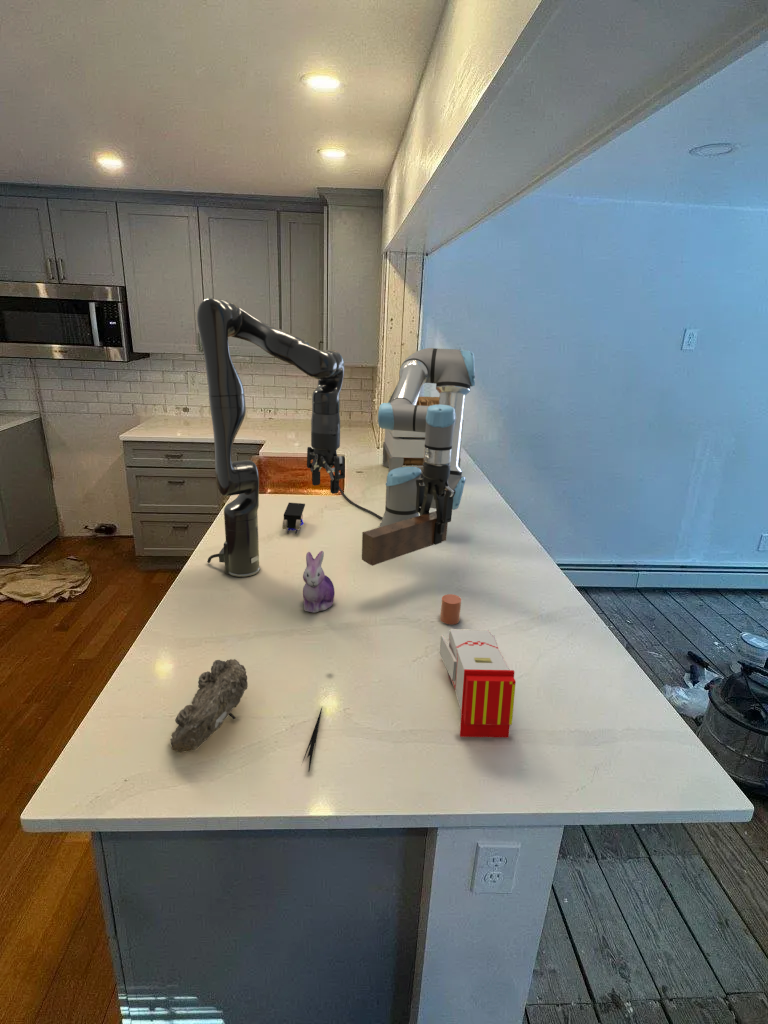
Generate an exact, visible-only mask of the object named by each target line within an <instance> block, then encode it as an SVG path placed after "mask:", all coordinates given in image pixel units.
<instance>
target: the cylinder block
mask: <svg viewBox="0 0 768 1024" xmlns="http://www.w3.org/2000/svg"><path fill="white" fill-rule="evenodd" d="M440 603H441V604H440V612H439V613H440V614H439V620H440V622H441V623H443V624H446V625H451V626H452V625H457V624H459V622H460V620H461V619H460V618H461V610H462V609H461V608H462V598H461V596H459V595H457V594H453V593H450V594H449V593H448V594H444V595H442V597H441V602H440Z"/></svg>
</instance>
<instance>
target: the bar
mask: <svg viewBox="0 0 768 1024" xmlns="http://www.w3.org/2000/svg"><path fill="white" fill-rule="evenodd" d="M435 522H437V514H436V510H435V511H431V512H429V513H427V514H424V515H420V514H419V516H417V517H414V518H410V519H407V520H403V521H400V522H396V523H393V524H390V525H386V526H383V527H379V526H378V527H376V528H372V529H369V530H365V531H362V535H361V561H363V562H365V563H367V564H368V565H370V566H376V565H379V564H382V563H385V562H388V561H390V560H393V559H396V558H399V557H402V556H405V555H407V554H411V553H414V552H417V551H420V550H422V549H425V548H428V547H432V546H435V545H434V544H433V541H434V528H435ZM448 524H449V522H448V523H445V528H444V533H443V534H442V543H443V542H446V541H447V538H448V537H447V535H448Z"/></svg>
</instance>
